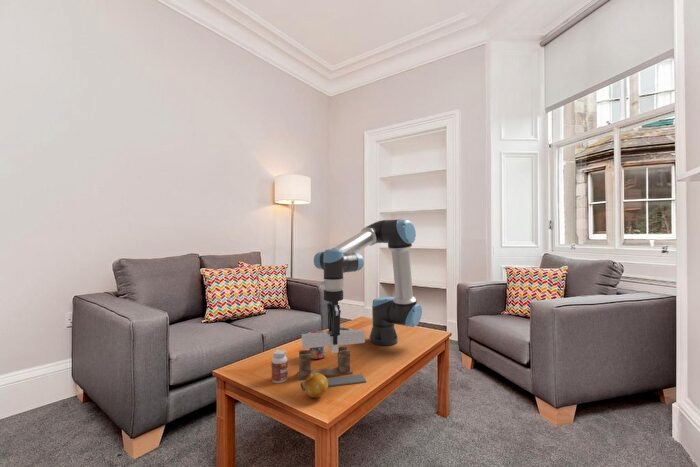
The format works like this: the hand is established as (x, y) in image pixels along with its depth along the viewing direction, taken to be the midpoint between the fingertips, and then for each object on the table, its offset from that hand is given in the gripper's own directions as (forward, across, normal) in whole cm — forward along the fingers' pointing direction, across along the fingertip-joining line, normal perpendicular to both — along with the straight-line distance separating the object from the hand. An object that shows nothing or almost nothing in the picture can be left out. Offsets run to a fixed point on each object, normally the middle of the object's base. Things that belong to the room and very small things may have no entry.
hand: (333, 350), depth 127 cm
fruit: (+13, +9, -8) cm, 17 cm away
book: (+13, -52, +14) cm, 56 cm away
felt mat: (+12, 0, 0) cm, 12 cm away
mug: (+12, -29, -1) cm, 32 cm away
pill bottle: (+13, -8, -20) cm, 25 cm away
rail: (-2, 0, 0) cm, 2 cm away
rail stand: (+12, -9, -2) cm, 15 cm away
